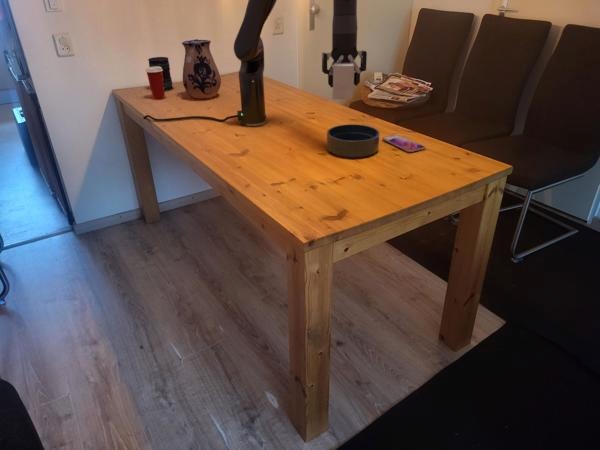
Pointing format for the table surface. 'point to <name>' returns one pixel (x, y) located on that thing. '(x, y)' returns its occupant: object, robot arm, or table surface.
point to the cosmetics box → (343, 81)
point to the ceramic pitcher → (200, 70)
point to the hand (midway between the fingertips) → (343, 85)
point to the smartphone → (403, 143)
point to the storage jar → (165, 67)
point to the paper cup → (156, 82)
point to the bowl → (353, 140)
